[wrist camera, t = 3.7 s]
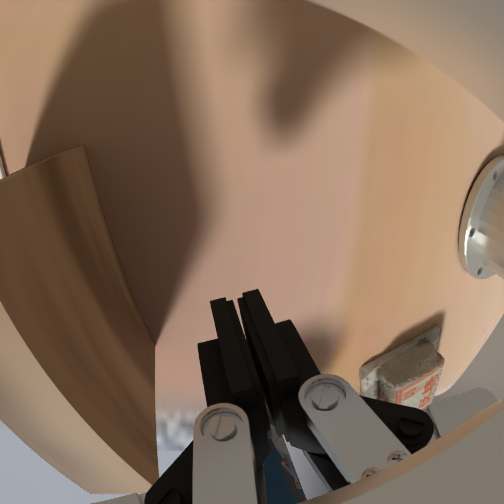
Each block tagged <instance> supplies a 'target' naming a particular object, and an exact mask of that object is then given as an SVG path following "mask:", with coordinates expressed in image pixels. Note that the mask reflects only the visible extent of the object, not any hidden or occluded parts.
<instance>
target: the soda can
mask: <svg viewBox="0 0 504 504" xmlns="http://www.w3.org/2000/svg"><path fill="white" fill-rule="evenodd" d="M268 418H269V417H268ZM269 422H270V427H271V431H272V436H273V437H272V438H269V439H268V442H269V446H270V450H271V452H270V454H269V455H268V457H267V458H266V460H265V461H264V463H263V466H264V473H265V481H266V488H267V496H268V504H297V503H300V502H303V501H306V500H307V499H306V497H305V494H304V492H303V489H302V487H301V484H300V481H299V479H298V476H297V473H296V471H295V468H294V466H293V463H292V460H291V457H290V455H289V452H288V449H287V447H286V444H285V441H284V438H283V436H282V435H279V436H278V435H277V432H276V430H275V427H274V424H273V421H272V419H270V418H269Z"/></svg>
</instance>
